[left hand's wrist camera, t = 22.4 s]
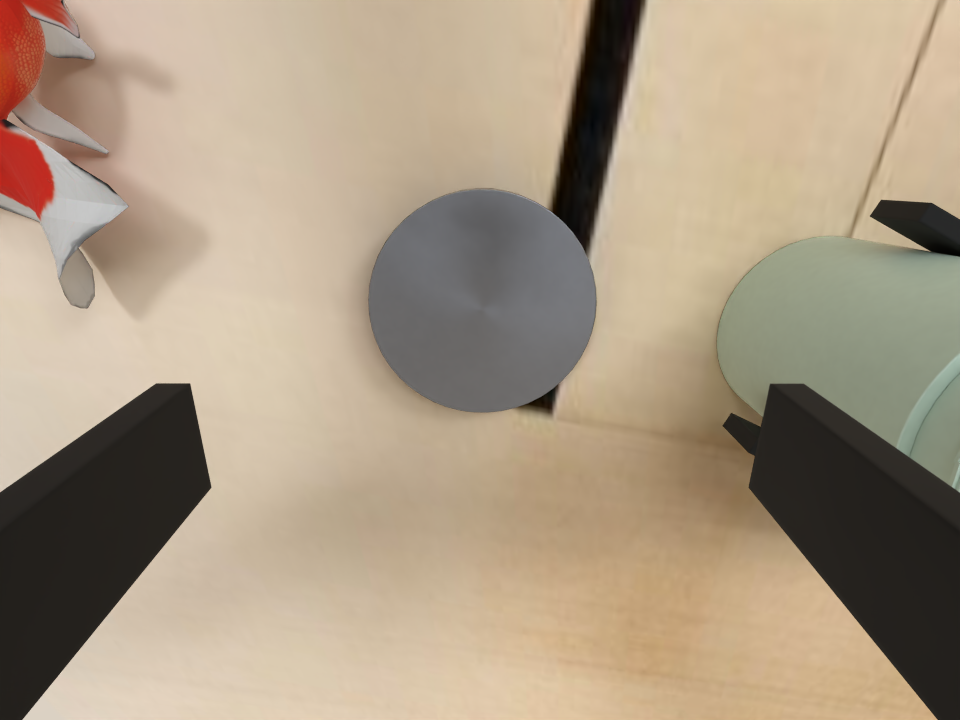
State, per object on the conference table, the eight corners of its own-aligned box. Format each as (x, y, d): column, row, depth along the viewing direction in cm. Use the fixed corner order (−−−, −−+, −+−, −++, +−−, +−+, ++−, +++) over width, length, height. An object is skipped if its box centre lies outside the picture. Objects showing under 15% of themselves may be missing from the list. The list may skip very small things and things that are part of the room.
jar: (927, 233, 28) (1414, 296, 13) (884, 414, 31) (1236, 623, 17) (728, 238, 28) (995, 307, 13) (706, 418, 31) (902, 629, 17)
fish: (183, -57, 20) (-162, -48, 13) (229, 280, 31) (55, 385, 24) (-22, -138, 22) (-418, -169, 15) (89, 205, 33) (-110, 282, 26)
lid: (336, 248, 28) (325, 254, 26) (537, 147, 27) (541, 145, 25) (435, 427, 32) (433, 444, 30) (619, 347, 30) (629, 359, 28)
